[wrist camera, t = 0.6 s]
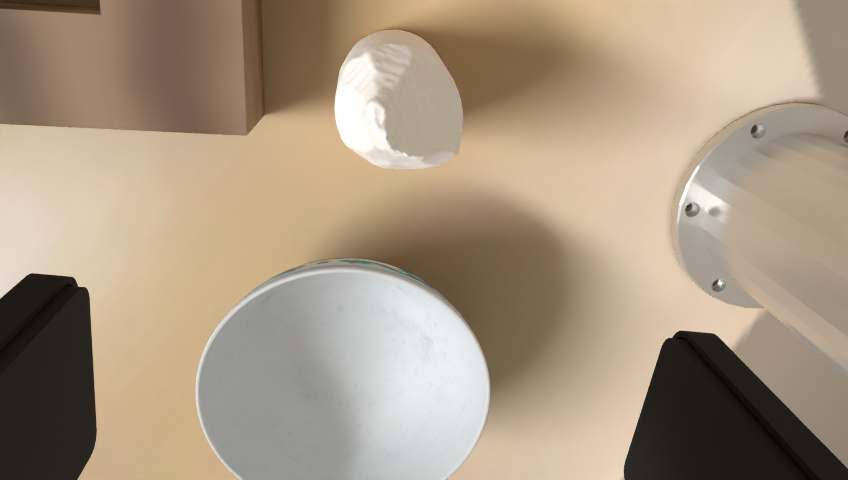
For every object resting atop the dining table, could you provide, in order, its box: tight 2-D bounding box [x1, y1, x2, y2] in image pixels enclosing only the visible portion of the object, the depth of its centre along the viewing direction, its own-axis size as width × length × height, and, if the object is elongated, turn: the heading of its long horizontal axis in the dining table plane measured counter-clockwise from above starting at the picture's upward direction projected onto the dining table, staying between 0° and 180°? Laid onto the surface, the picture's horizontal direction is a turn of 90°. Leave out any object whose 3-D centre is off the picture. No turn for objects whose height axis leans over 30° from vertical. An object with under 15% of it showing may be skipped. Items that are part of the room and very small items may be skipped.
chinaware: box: [196, 258, 491, 480], centre depth 36 cm, size 15×15×8 cm
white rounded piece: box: [335, 30, 463, 169], centre depth 29 cm, size 6×12×6 cm
